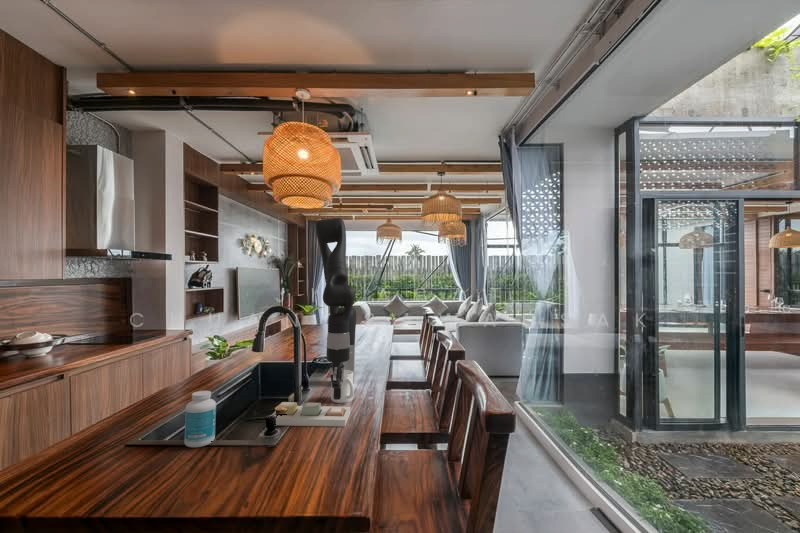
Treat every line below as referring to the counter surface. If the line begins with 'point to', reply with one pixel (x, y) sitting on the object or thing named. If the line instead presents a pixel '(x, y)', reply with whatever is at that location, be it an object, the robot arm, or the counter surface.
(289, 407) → the key
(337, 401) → the mug
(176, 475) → the counter surface
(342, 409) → the key
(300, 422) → the keypad
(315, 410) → the key
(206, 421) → the pill bottle
